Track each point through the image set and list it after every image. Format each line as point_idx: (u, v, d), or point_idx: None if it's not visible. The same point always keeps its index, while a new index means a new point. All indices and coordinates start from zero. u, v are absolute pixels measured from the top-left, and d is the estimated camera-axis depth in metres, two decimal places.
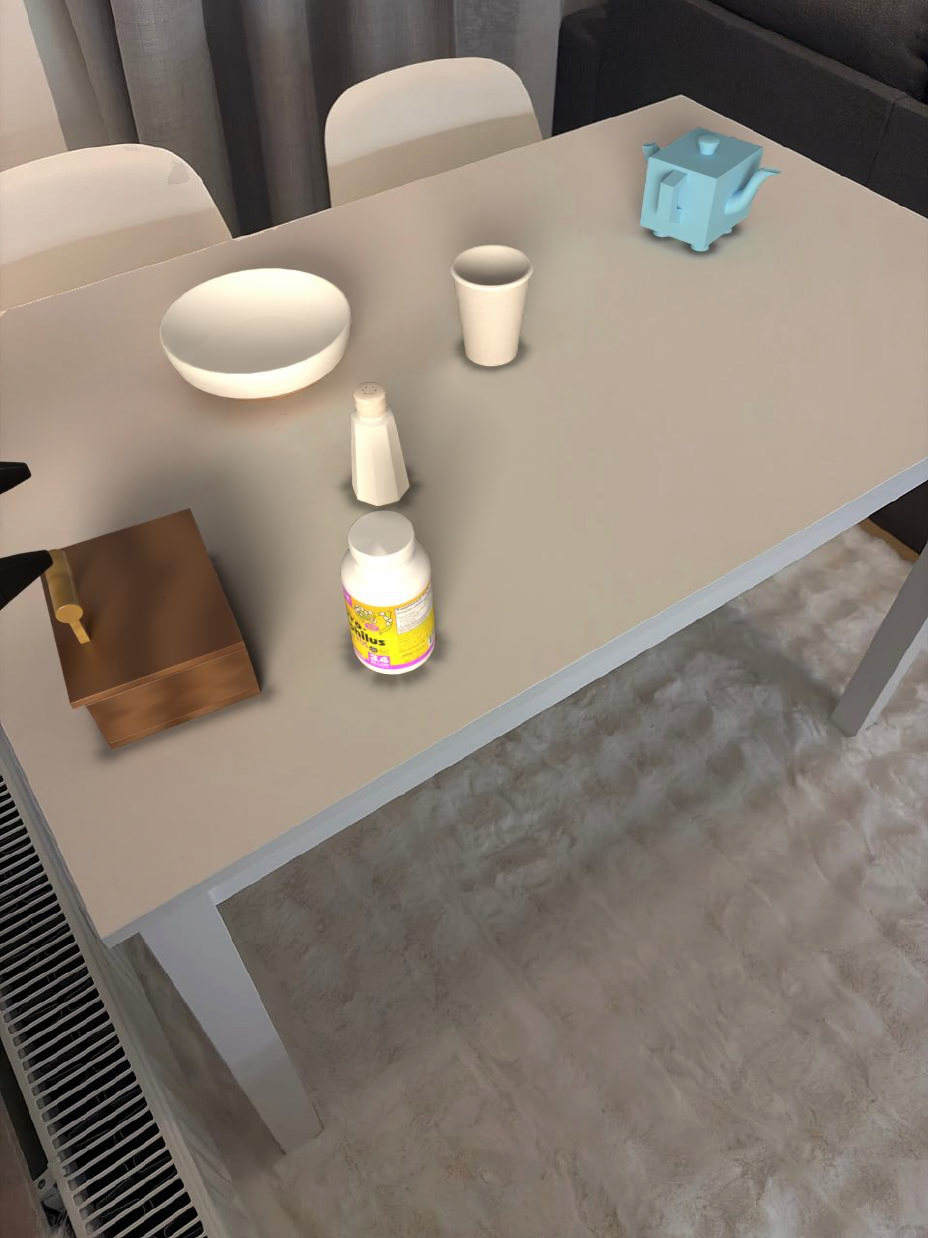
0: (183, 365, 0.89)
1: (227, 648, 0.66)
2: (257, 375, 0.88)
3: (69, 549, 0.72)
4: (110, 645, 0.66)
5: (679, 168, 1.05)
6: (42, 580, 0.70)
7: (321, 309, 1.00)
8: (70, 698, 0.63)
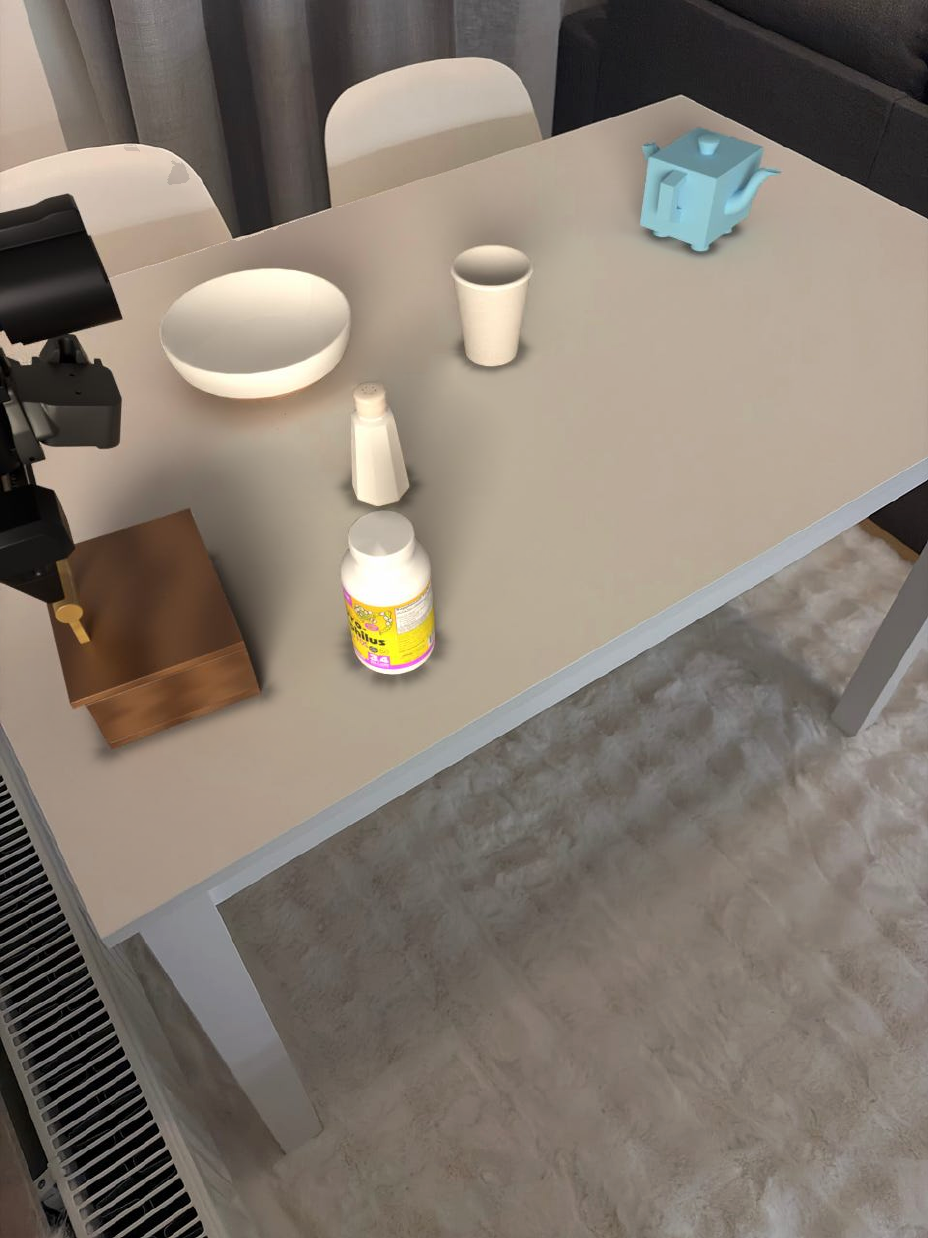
0: (183, 365, 0.89)
1: (227, 648, 0.66)
2: (257, 375, 0.88)
3: None
4: (110, 645, 0.66)
5: (680, 168, 1.05)
6: None
7: (321, 309, 1.00)
8: (70, 698, 0.63)
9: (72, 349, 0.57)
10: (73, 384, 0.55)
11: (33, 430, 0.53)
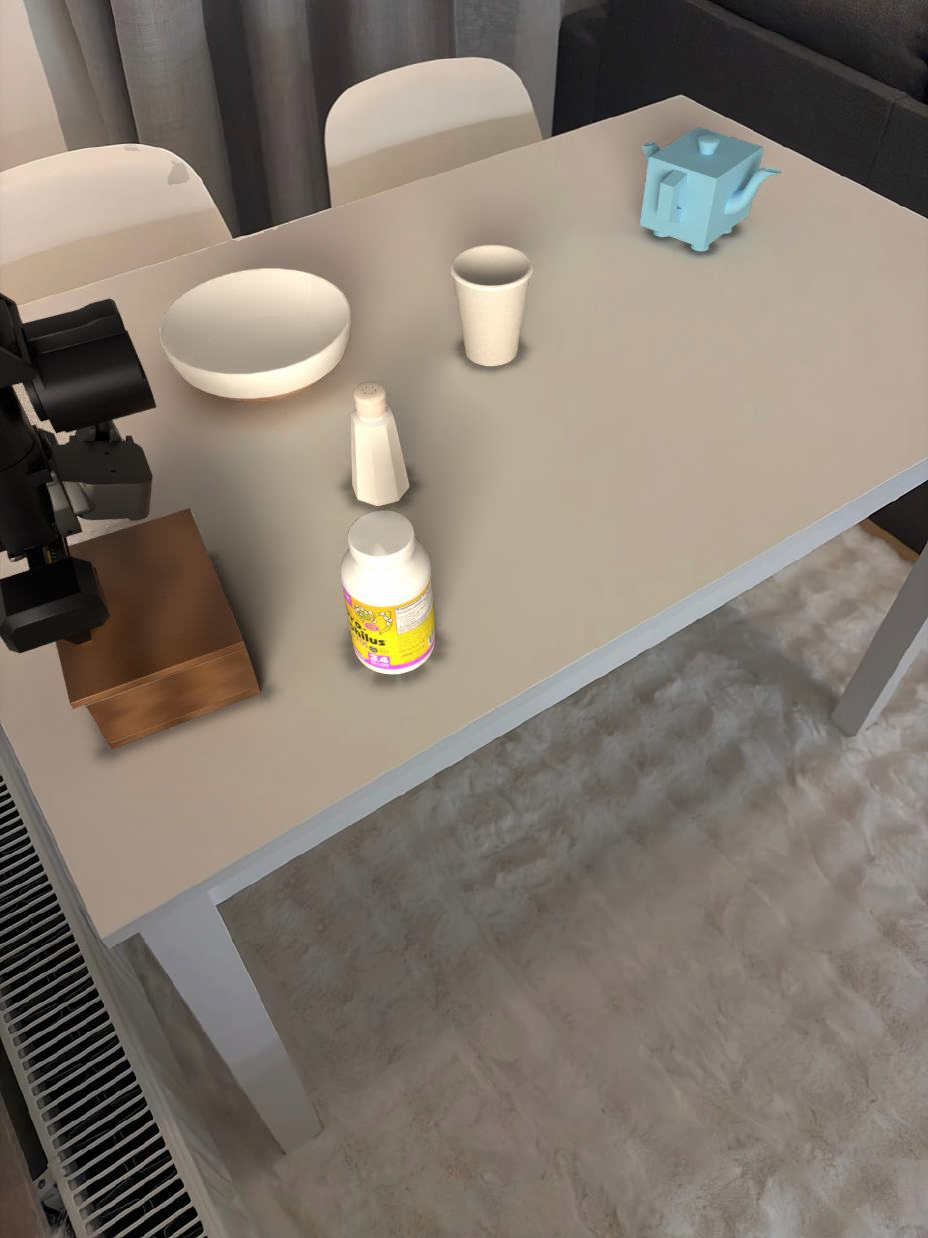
0: (183, 365, 0.89)
1: (227, 648, 0.66)
2: (257, 375, 0.88)
3: (69, 549, 0.72)
4: (110, 645, 0.66)
5: (680, 168, 1.05)
6: None
7: (321, 309, 1.00)
8: (70, 698, 0.63)
9: (106, 427, 0.62)
10: (108, 462, 0.60)
11: (72, 506, 0.58)
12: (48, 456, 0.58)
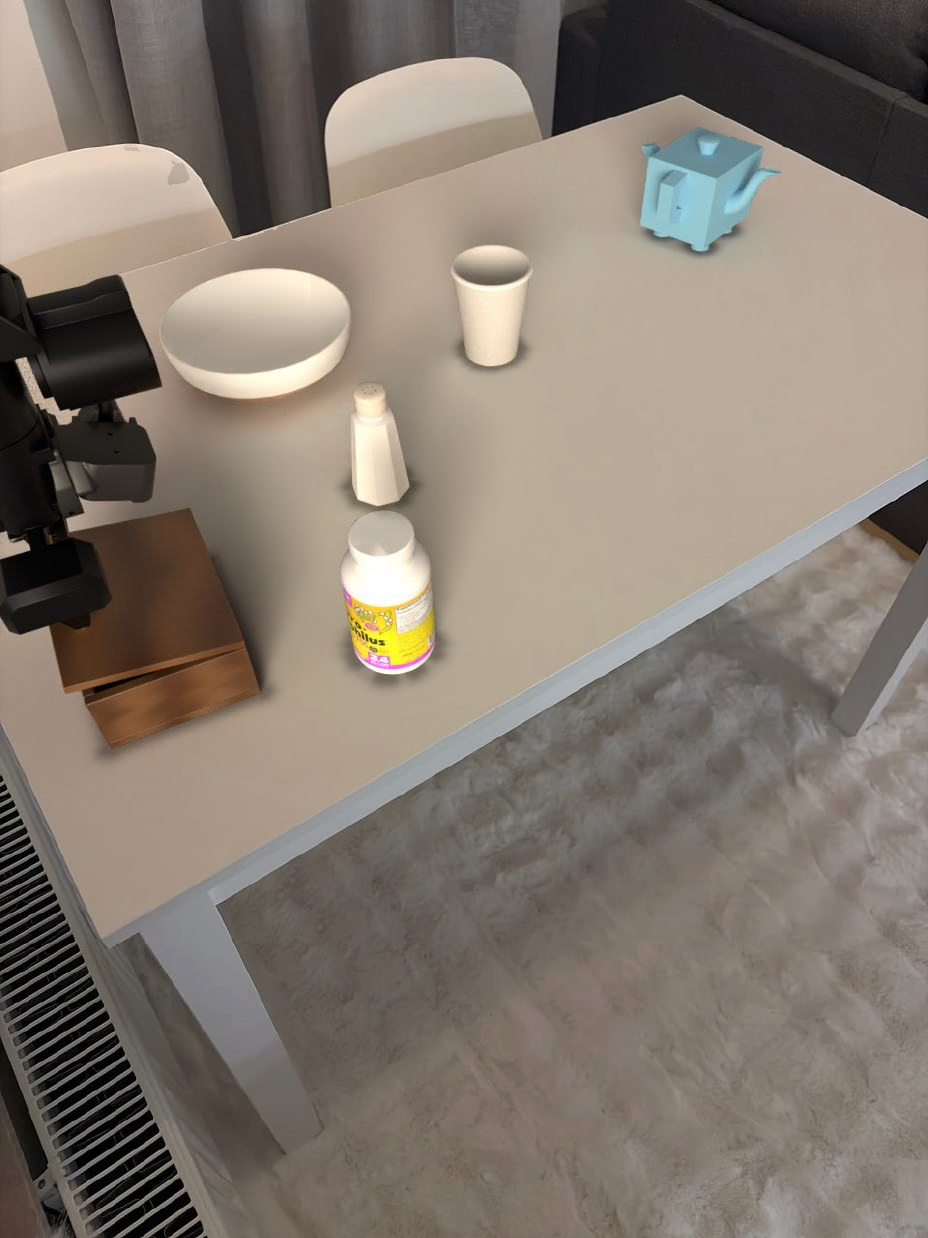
0: (183, 365, 0.89)
1: (227, 646, 0.66)
2: (257, 375, 0.88)
3: None
4: (107, 634, 0.65)
5: (680, 168, 1.05)
6: None
7: (321, 309, 1.00)
8: (64, 683, 0.62)
9: (109, 408, 0.61)
10: (111, 443, 0.59)
11: (74, 487, 0.57)
12: (51, 435, 0.57)
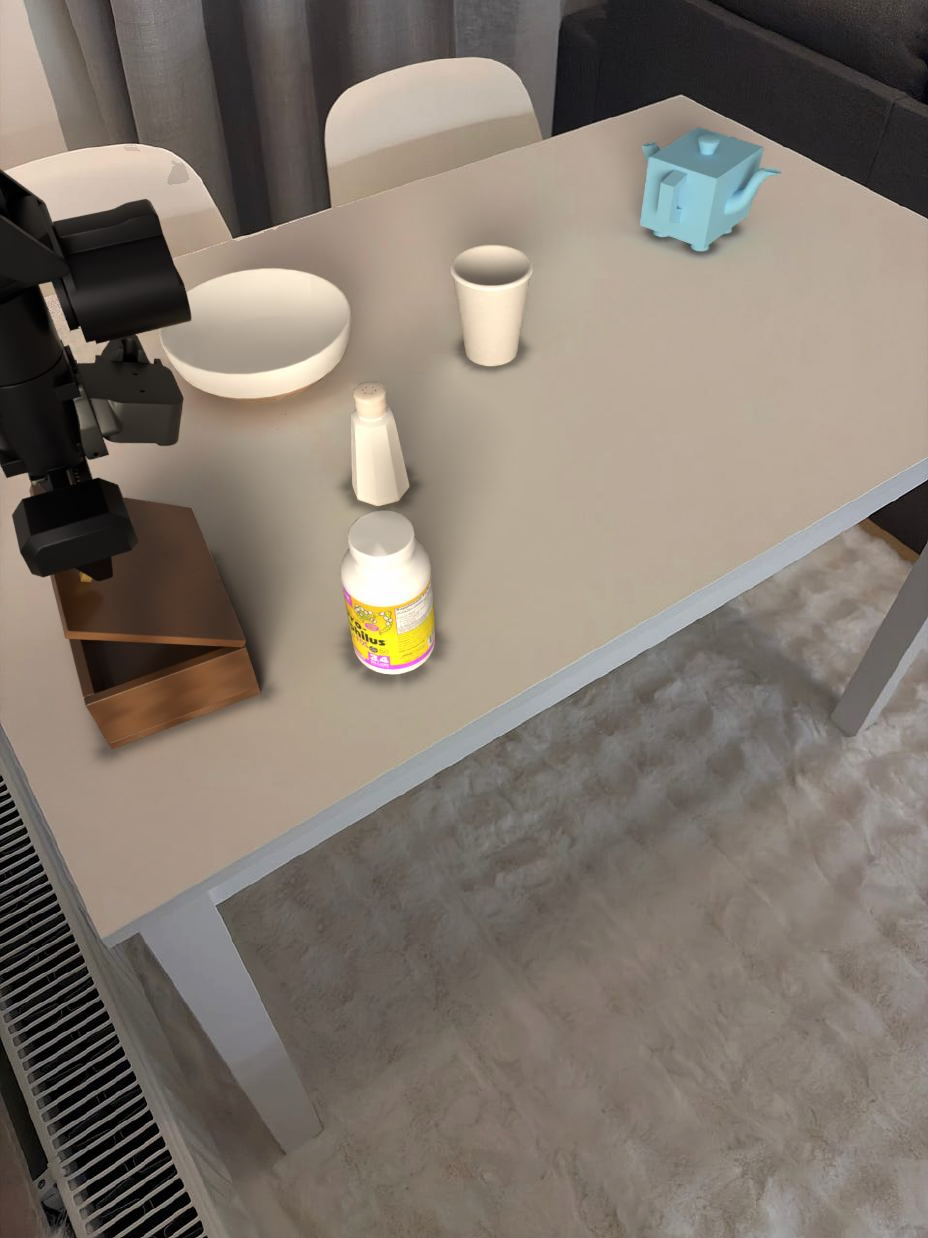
0: (183, 365, 0.89)
1: (229, 641, 0.65)
2: (257, 375, 0.88)
3: None
4: (112, 594, 0.63)
5: (680, 168, 1.05)
6: None
7: (321, 309, 1.00)
8: (68, 626, 0.59)
9: (134, 349, 0.59)
10: (137, 382, 0.57)
11: (99, 426, 0.55)
12: (74, 373, 0.55)
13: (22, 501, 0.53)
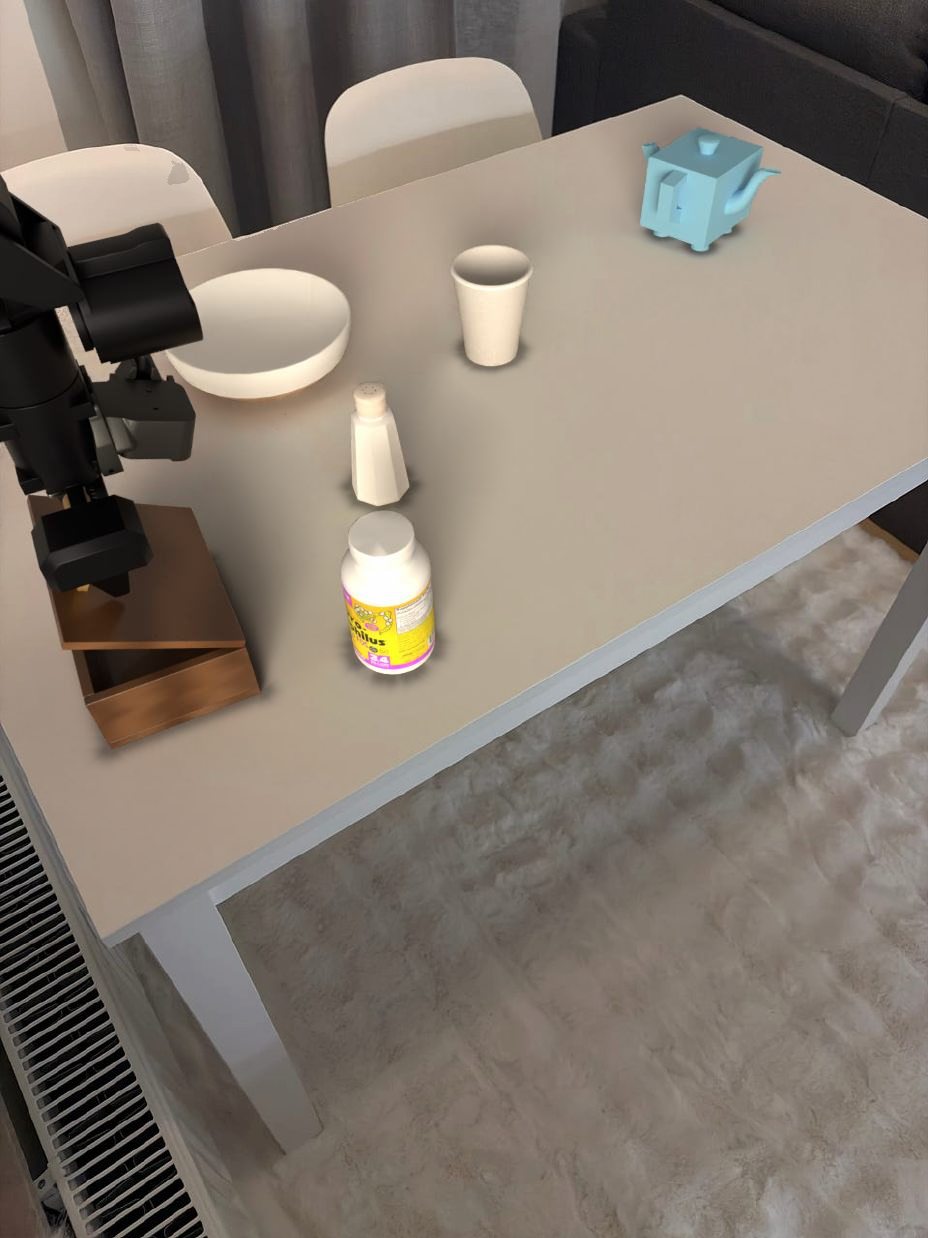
0: (183, 365, 0.89)
1: (228, 642, 0.65)
2: (257, 375, 0.88)
3: None
4: (109, 602, 0.63)
5: (680, 168, 1.05)
6: (35, 519, 0.66)
7: (321, 309, 1.00)
8: (64, 637, 0.59)
9: (147, 366, 0.60)
10: (150, 400, 0.58)
11: (114, 444, 0.56)
12: (89, 392, 0.57)
13: (40, 519, 0.54)
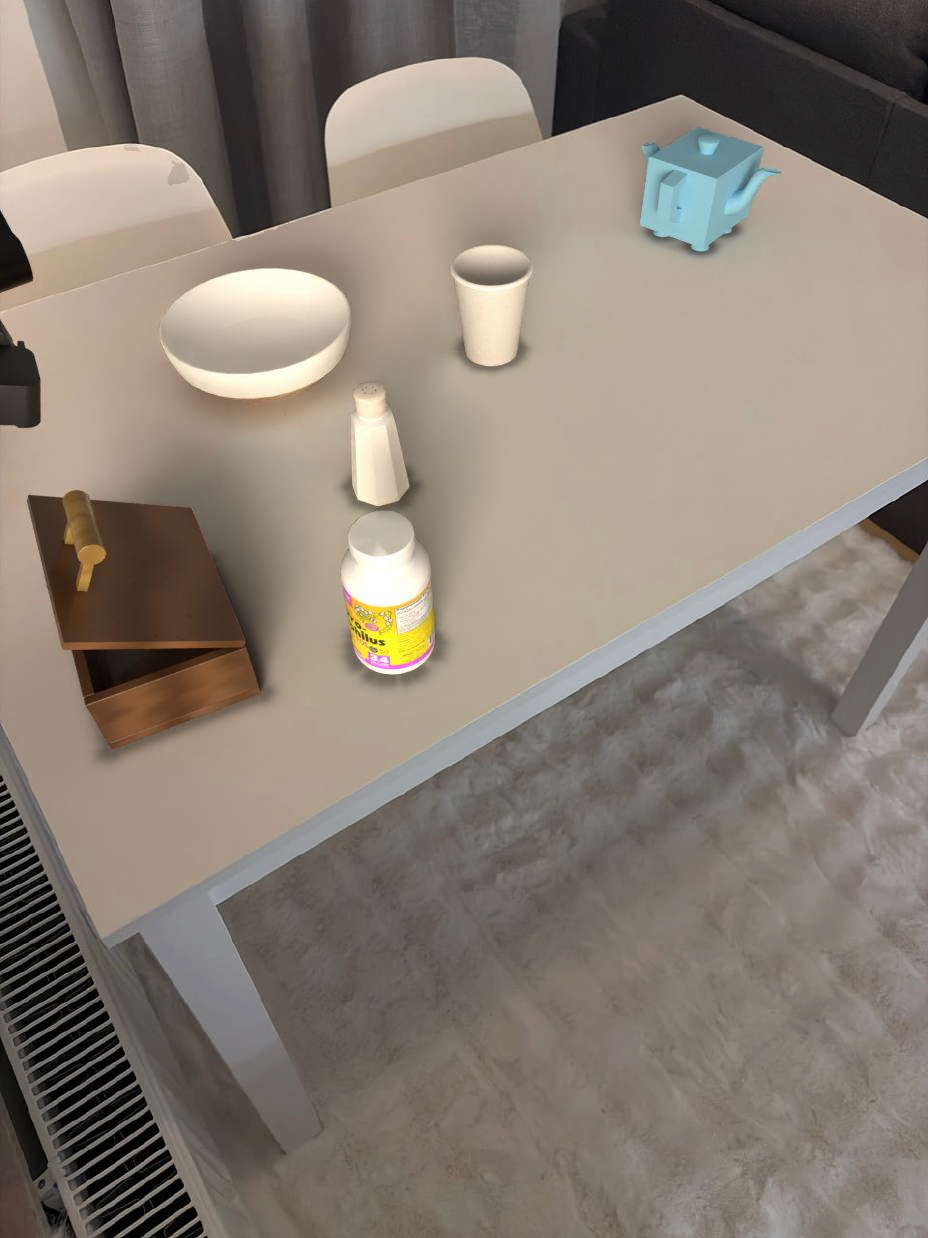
0: (183, 365, 0.89)
1: (228, 642, 0.65)
2: (257, 375, 0.88)
3: None
4: (109, 602, 0.63)
5: (680, 168, 1.05)
6: (35, 519, 0.66)
7: (321, 309, 1.00)
8: (64, 637, 0.59)
9: None
10: None
11: None
12: None
13: None
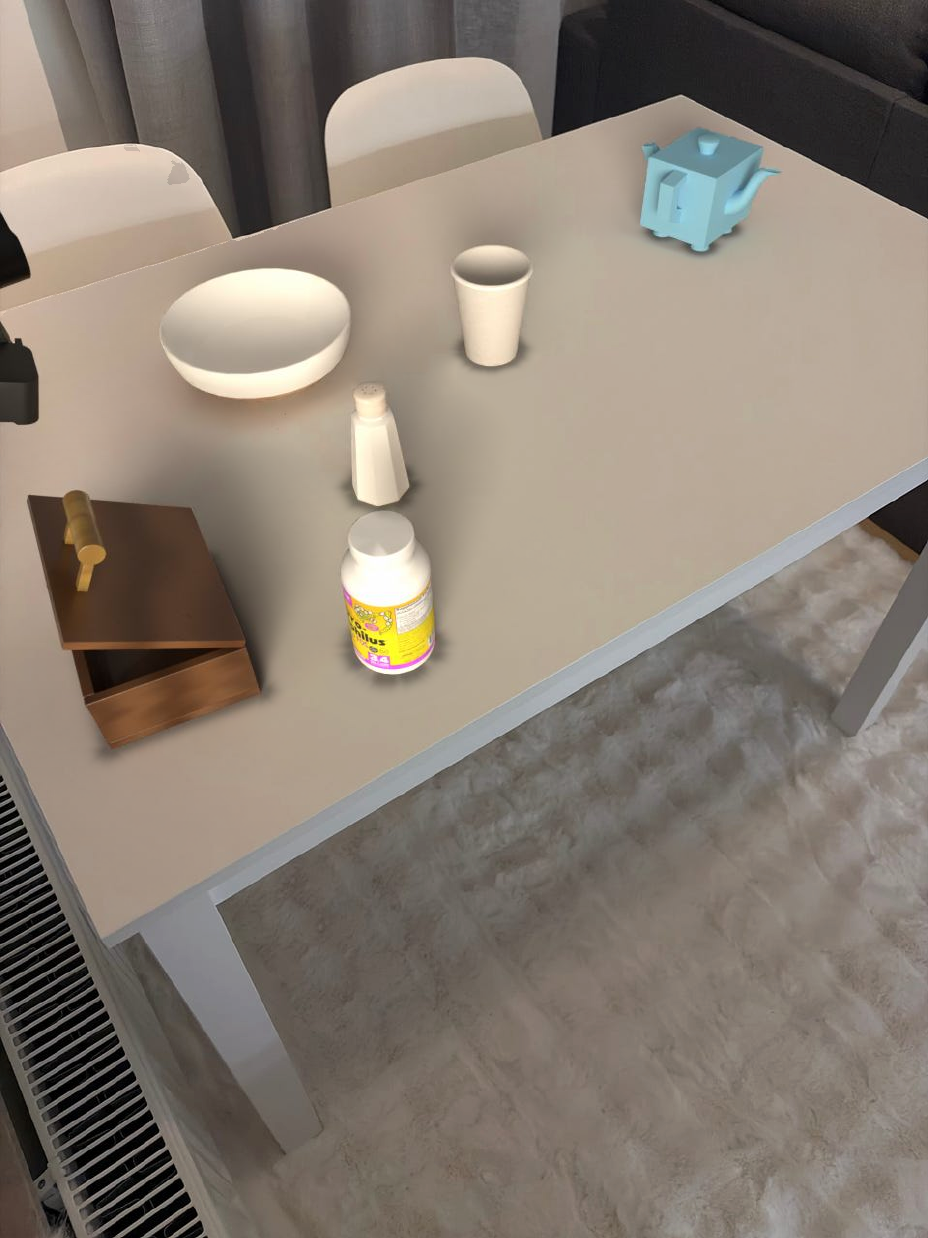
0: (183, 365, 0.89)
1: (228, 642, 0.65)
2: (257, 375, 0.88)
3: None
4: (109, 602, 0.63)
5: (679, 168, 1.05)
6: (35, 519, 0.66)
7: (321, 309, 1.00)
8: (64, 637, 0.59)
9: None
10: None
11: None
12: None
13: None
